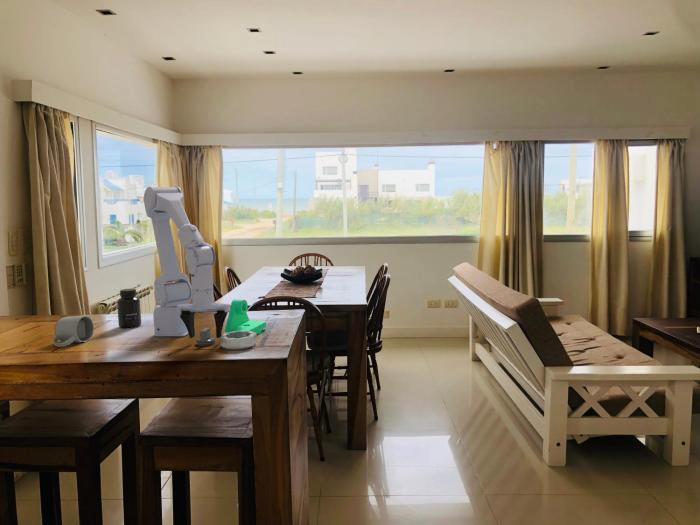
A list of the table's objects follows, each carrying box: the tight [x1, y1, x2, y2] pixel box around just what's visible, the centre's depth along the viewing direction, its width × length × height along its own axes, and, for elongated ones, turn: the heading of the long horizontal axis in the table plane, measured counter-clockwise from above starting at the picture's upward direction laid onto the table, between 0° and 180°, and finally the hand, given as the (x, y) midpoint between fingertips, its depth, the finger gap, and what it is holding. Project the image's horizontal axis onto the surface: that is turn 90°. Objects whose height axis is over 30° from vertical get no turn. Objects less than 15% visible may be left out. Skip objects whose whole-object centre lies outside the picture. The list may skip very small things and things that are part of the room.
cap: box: [195, 327, 216, 347], centre depth 153 cm, size 5×5×4 cm
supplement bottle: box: [116, 288, 142, 330], centre depth 175 cm, size 7×7×12 cm
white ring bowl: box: [219, 331, 257, 351], centre depth 150 cm, size 9×9×3 cm
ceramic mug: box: [52, 315, 95, 347], centre depth 158 cm, size 11×8×8 cm
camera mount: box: [224, 298, 267, 336], centre depth 163 cm, size 12×8×10 cm, turn 162°
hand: (205, 337), depth 153 cm, fingers open, 7 cm apart
